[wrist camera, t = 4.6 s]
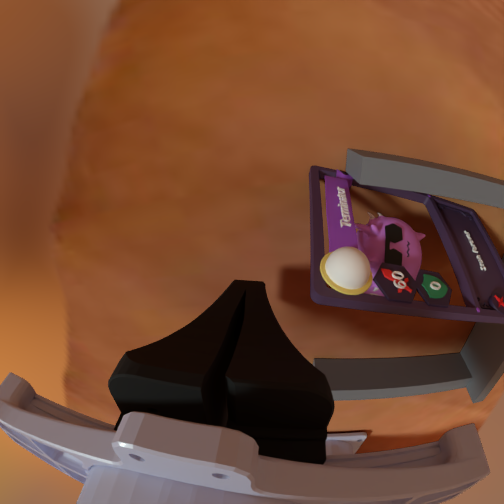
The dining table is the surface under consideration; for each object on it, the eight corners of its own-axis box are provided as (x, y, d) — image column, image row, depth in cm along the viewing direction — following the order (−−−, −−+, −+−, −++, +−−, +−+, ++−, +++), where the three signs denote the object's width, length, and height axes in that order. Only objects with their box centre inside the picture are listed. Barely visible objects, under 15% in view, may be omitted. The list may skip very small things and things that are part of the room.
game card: (537, 307, 6) (321, 275, 7) (463, 370, 10) (281, 362, 10) (479, 197, 11) (314, 149, 11) (436, 266, 15) (291, 239, 15)
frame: (463, 361, 16) (482, 400, 13) (311, 369, 17) (314, 421, 13) (530, 189, 10) (574, 214, 7) (347, 148, 11) (375, 163, 8)
